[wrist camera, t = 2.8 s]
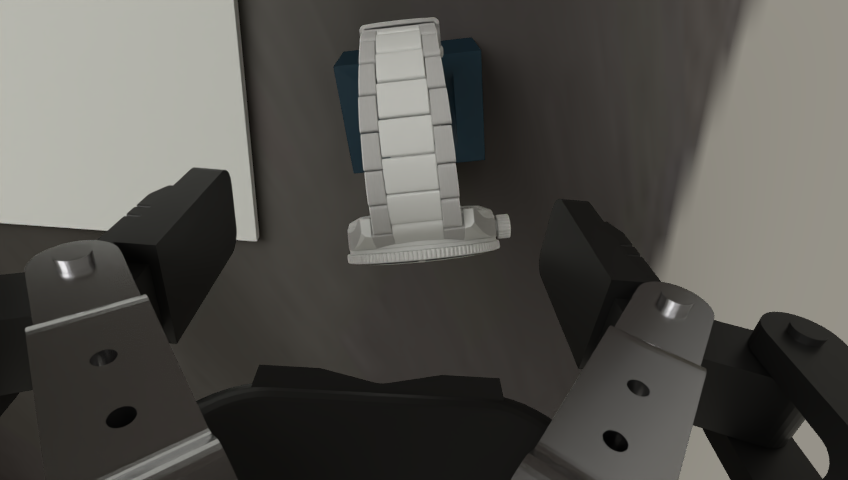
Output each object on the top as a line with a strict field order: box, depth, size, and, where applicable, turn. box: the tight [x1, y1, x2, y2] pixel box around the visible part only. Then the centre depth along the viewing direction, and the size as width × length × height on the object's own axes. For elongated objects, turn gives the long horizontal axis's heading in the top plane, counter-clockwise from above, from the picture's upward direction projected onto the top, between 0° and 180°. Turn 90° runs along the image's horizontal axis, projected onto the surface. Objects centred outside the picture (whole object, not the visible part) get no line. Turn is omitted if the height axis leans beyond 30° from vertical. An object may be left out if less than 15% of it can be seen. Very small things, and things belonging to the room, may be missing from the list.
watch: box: [334, 17, 511, 265], centre depth 17 cm, size 6×8×11 cm
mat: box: [0, 0, 259, 241], centre depth 20 cm, size 18×14×1 cm
